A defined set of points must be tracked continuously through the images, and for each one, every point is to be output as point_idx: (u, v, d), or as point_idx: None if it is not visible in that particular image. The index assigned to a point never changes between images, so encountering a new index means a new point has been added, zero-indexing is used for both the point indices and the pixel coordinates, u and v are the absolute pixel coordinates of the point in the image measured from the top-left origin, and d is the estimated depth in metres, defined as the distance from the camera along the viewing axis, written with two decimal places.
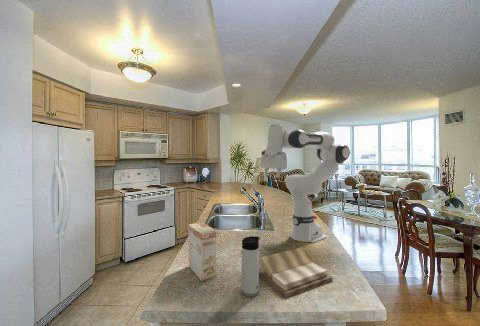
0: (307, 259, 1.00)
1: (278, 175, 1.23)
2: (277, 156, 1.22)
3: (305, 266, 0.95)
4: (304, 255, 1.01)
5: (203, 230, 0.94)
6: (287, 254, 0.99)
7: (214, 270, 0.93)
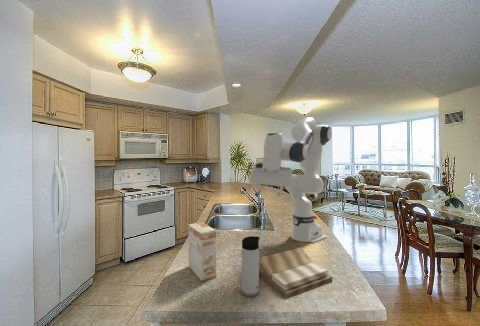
0: (307, 259, 1.00)
1: None
2: (283, 172, 1.07)
3: (305, 266, 0.95)
4: (304, 255, 1.01)
5: (203, 230, 0.94)
6: (287, 254, 0.99)
7: (214, 270, 0.93)
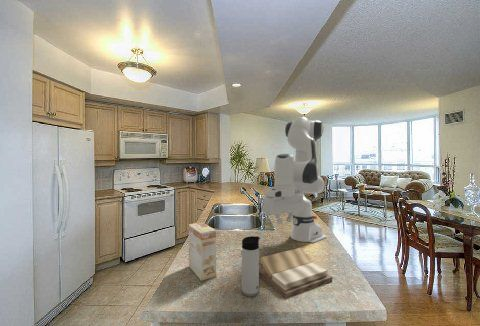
0: (307, 259, 1.00)
1: None
2: (297, 196, 0.99)
3: (305, 266, 0.95)
4: (304, 255, 1.01)
5: (203, 230, 0.94)
6: (287, 254, 0.99)
7: (214, 270, 0.93)
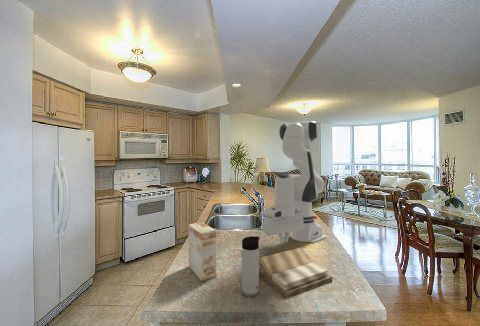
0: (307, 259, 1.00)
1: None
2: (296, 215, 0.99)
3: (305, 266, 0.95)
4: (304, 255, 1.01)
5: (203, 230, 0.94)
6: (287, 254, 0.99)
7: (214, 270, 0.93)
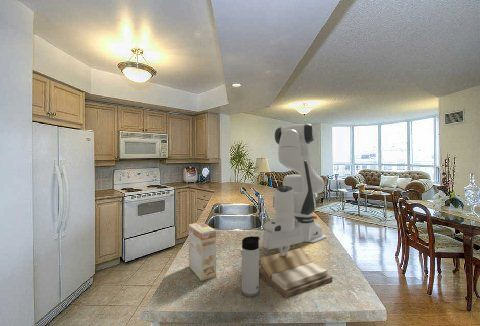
0: (307, 259, 1.00)
1: None
2: (296, 229, 0.99)
3: (305, 266, 0.95)
4: (304, 255, 1.02)
5: (203, 230, 0.94)
6: (287, 255, 1.00)
7: (214, 270, 0.93)
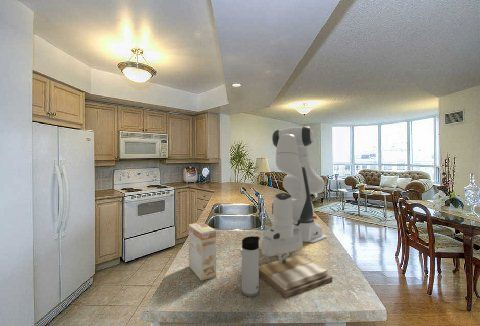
0: (307, 261, 1.00)
1: None
2: (295, 236, 1.00)
3: (305, 266, 0.95)
4: (303, 259, 1.02)
5: (203, 230, 0.94)
6: None
7: (214, 270, 0.93)
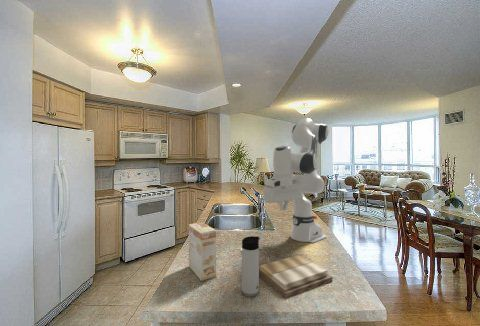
0: (307, 261, 1.00)
1: None
2: (294, 185, 1.08)
3: (305, 266, 0.95)
4: (303, 259, 1.02)
5: (203, 230, 0.94)
6: (285, 260, 1.00)
7: (214, 270, 0.93)
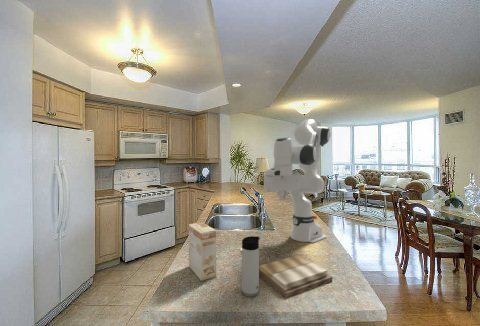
0: (307, 261, 1.00)
1: None
2: (294, 176, 1.09)
3: (305, 266, 0.95)
4: (303, 259, 1.02)
5: (203, 230, 0.94)
6: (285, 260, 1.00)
7: (214, 270, 0.93)
